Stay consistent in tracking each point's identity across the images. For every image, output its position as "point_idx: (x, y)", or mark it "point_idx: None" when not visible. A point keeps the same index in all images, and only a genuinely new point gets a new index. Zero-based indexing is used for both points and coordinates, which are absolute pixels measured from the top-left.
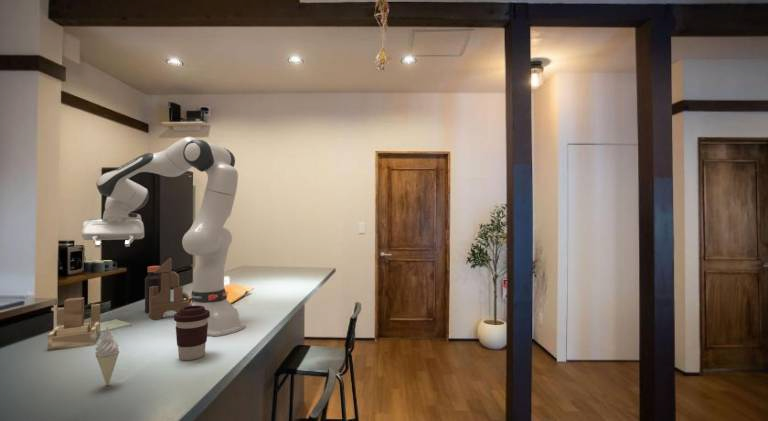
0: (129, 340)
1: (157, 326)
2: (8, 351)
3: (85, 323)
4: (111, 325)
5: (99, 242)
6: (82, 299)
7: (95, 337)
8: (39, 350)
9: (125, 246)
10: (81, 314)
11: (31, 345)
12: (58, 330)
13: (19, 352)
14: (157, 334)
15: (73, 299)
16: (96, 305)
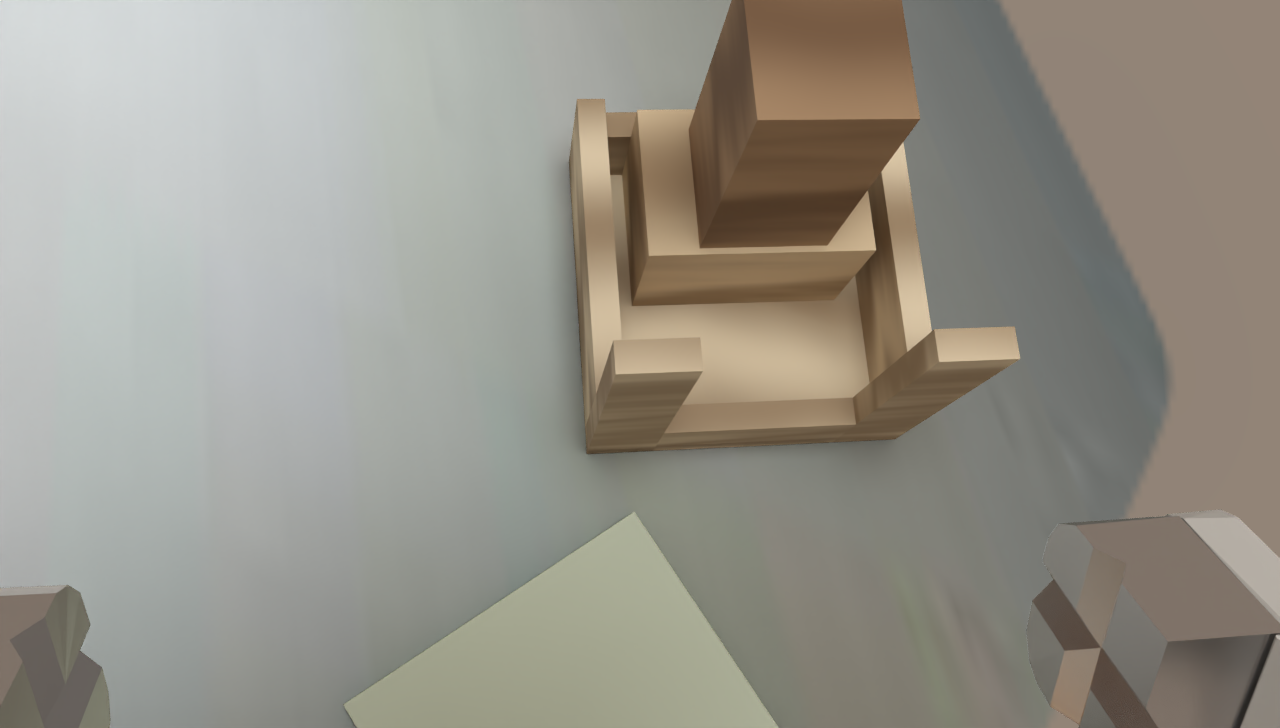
0: (315, 151)
1: (78, 520)
2: (1120, 271)
3: (685, 241)
4: (536, 719)
5: (1145, 591)
6: (746, 35)
7: (575, 201)
8: (916, 196)
9: (94, 693)
10: (709, 74)
11: (1030, 360)
12: None
13: (1033, 210)
14: (88, 223)
15: (837, 42)
16: (646, 340)
